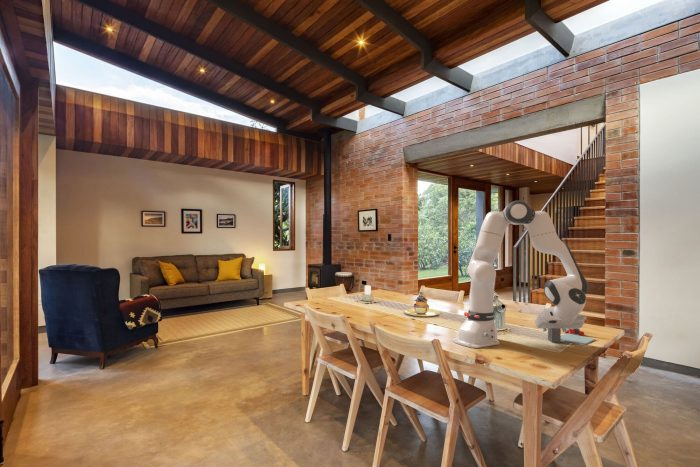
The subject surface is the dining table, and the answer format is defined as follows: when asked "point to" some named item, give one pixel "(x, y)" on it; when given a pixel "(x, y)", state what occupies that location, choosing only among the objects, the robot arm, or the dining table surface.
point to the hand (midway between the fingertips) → (553, 330)
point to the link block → (554, 334)
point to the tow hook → (575, 331)
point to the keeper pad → (576, 339)
